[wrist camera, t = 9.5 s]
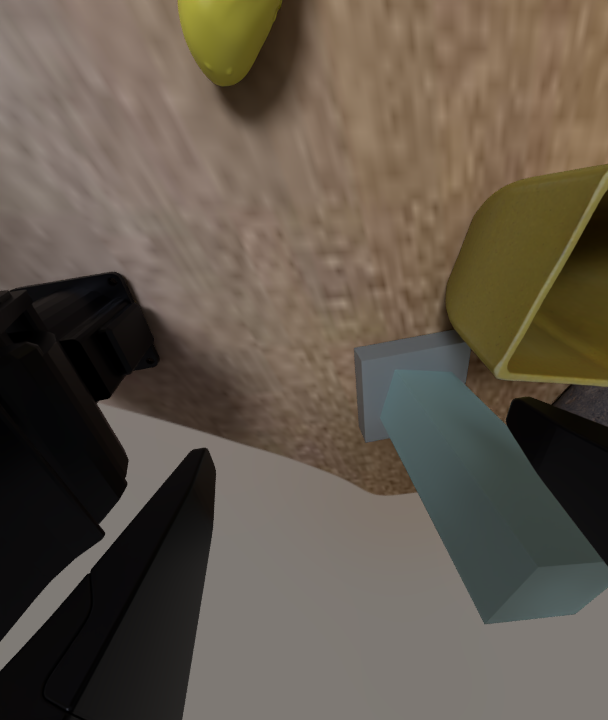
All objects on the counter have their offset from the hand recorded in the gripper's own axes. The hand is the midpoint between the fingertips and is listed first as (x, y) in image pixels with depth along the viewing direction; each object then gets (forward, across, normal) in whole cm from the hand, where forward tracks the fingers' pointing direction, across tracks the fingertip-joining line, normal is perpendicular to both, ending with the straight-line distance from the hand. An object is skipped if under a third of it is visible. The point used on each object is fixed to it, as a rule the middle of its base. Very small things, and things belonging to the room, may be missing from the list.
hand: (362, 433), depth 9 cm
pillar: (+11, -7, +8) cm, 16 cm away
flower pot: (+14, -13, -1) cm, 19 cm away
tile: (+13, -7, +9) cm, 17 cm away
